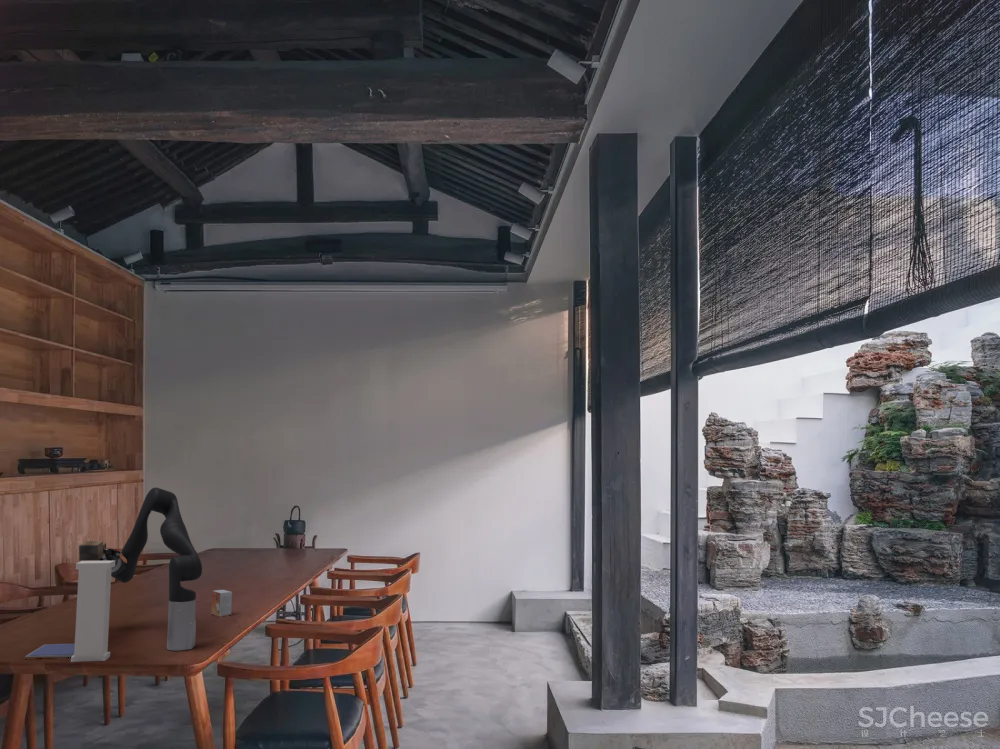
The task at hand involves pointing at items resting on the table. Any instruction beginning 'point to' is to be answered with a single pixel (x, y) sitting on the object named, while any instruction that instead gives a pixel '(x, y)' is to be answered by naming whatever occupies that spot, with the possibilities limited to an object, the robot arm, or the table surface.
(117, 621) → the table surface
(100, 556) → the stamp
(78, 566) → the tall post
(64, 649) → the pad
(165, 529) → the robot arm
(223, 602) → the small box
